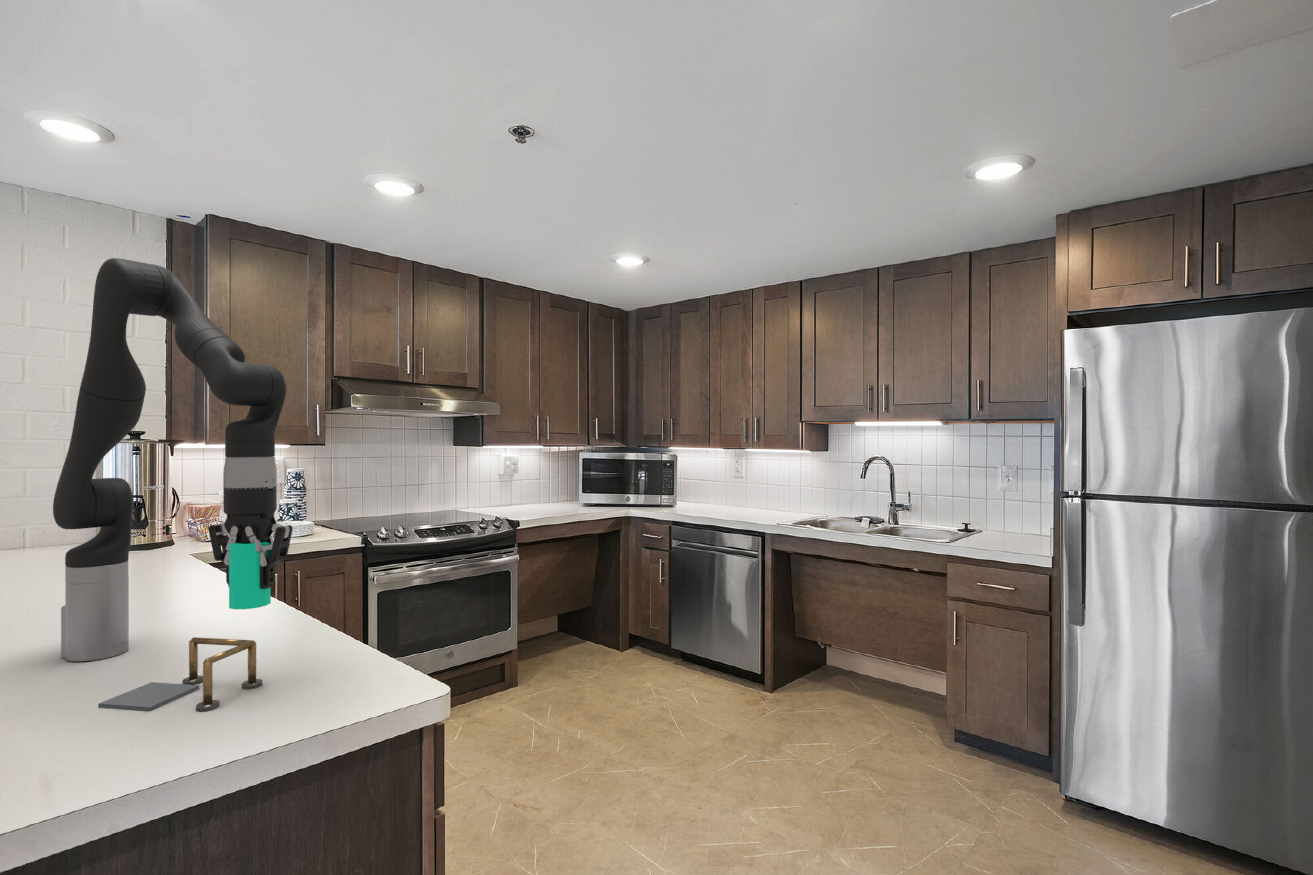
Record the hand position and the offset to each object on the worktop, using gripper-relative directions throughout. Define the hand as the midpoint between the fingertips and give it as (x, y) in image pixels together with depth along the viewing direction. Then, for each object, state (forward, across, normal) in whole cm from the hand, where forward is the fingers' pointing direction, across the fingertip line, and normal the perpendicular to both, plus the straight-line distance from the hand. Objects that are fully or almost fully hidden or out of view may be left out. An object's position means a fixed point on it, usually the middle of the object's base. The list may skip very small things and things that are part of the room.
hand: (250, 586), depth 111 cm
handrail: (+16, -5, -4) cm, 18 cm away
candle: (+3, 0, 0) cm, 3 cm away
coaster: (+16, -12, -7) cm, 21 cm away
